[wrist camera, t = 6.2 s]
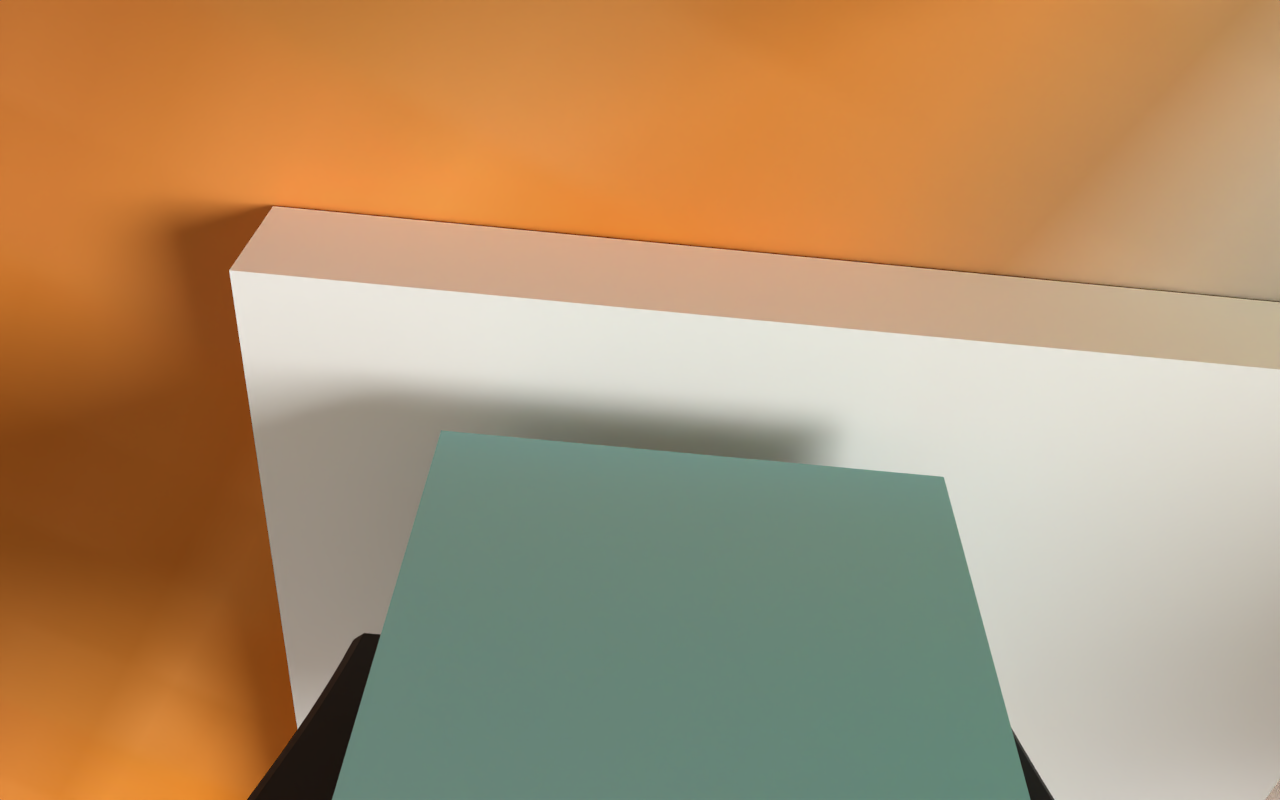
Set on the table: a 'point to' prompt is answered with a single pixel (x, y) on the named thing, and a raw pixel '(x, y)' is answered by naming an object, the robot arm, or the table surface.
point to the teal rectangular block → (678, 635)
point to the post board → (814, 447)
